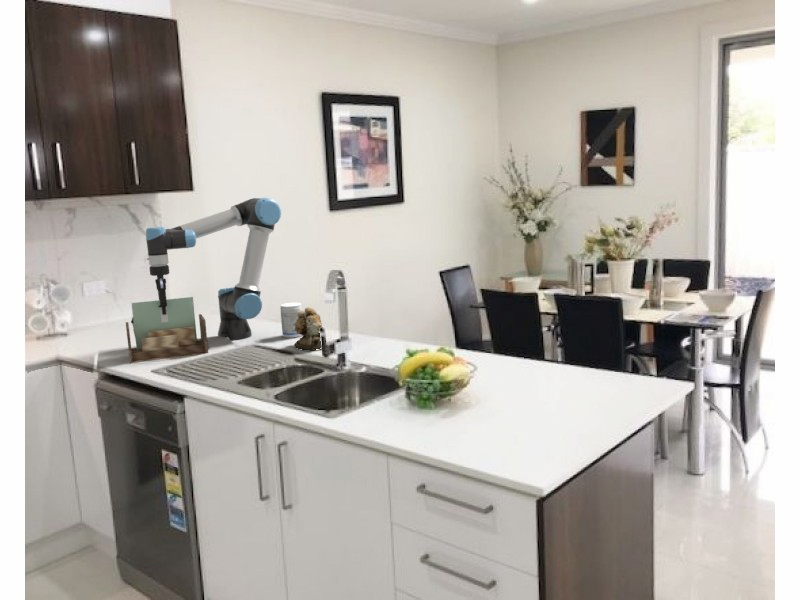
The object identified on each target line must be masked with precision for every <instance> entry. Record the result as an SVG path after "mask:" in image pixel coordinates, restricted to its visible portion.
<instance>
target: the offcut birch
mask: <svg viewBox="0 0 800 600" xmlns="http://www.w3.org/2000/svg"><path fill="white" fill-rule="evenodd" d="M141 344H142V352H144V351H152V350H160V349H168V348H176V347H179V346H178V336H177V335H169V336H161V337H152V338H144V339H141Z"/></svg>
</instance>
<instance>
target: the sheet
mask: <svg viewBox="0 0 800 600" xmlns="http://www.w3.org/2000/svg"><path fill="white" fill-rule="evenodd" d="M166 301H167V312H168V322H163V323H162V322H161V312H160V307H158V306H160V300H159V299H158V300H149V301H139V302H131V311H132V318H133V321H134V330H135V335H134V338H135V344H136V345H135V346H136V347H135V348H137V349H142V344H141V339H144V338H149V337H148V332H150V331H159V330H167V329H176V328H185V327H194V333H195V342H197V340H198V338H197V325H196V316H195V306H194V296H188V297H179V298H168V299H167V298H166Z"/></svg>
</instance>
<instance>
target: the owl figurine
mask: <svg viewBox="0 0 800 600" xmlns="http://www.w3.org/2000/svg"><path fill="white" fill-rule="evenodd" d="M297 316H298V319H297V322H296V323H295V330H296V331H297V333H298V334H301V335H302V336H301V337H300V338H299V340H297V341H296V342H295V343H294V346H295V347H294V346H293V347H294V348H295V349H296V348H298V349H297V350H299V349H302V350H301V351H304V350H312V351H313V350H316V349H320V348H321V341H322V340H321V337H320V333H319V328H322V329H323V326H322V320H321V315H320V314H318V312H317V310H315V309H314V308H313V307H310V306H308V307H305V308H304V310H302V311H300V312H298V314H297ZM320 340H321V341H320Z"/></svg>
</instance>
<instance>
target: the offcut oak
mask: <svg viewBox="0 0 800 600" xmlns="http://www.w3.org/2000/svg"><path fill="white" fill-rule="evenodd" d="M169 335H177V336H178V346H180V345H188V344H195V333H194V327H185V328H176V329H167V330H159V331H150V332H148V337H149V338H152V337H161V336H169Z"/></svg>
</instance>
